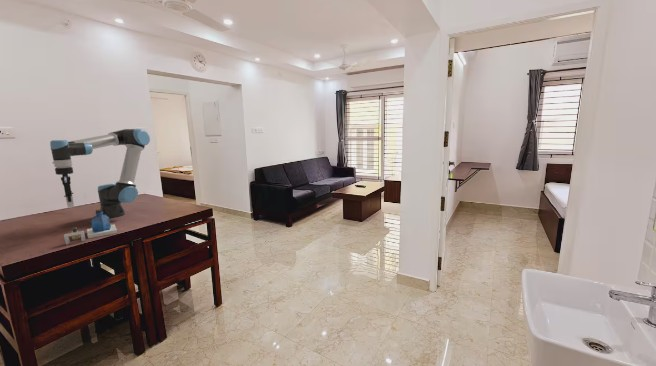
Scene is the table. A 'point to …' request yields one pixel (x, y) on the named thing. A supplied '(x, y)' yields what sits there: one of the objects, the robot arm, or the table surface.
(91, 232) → the socket
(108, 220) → the perfume bottle
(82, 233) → the keeper
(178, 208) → the table surface
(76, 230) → the lock bar
